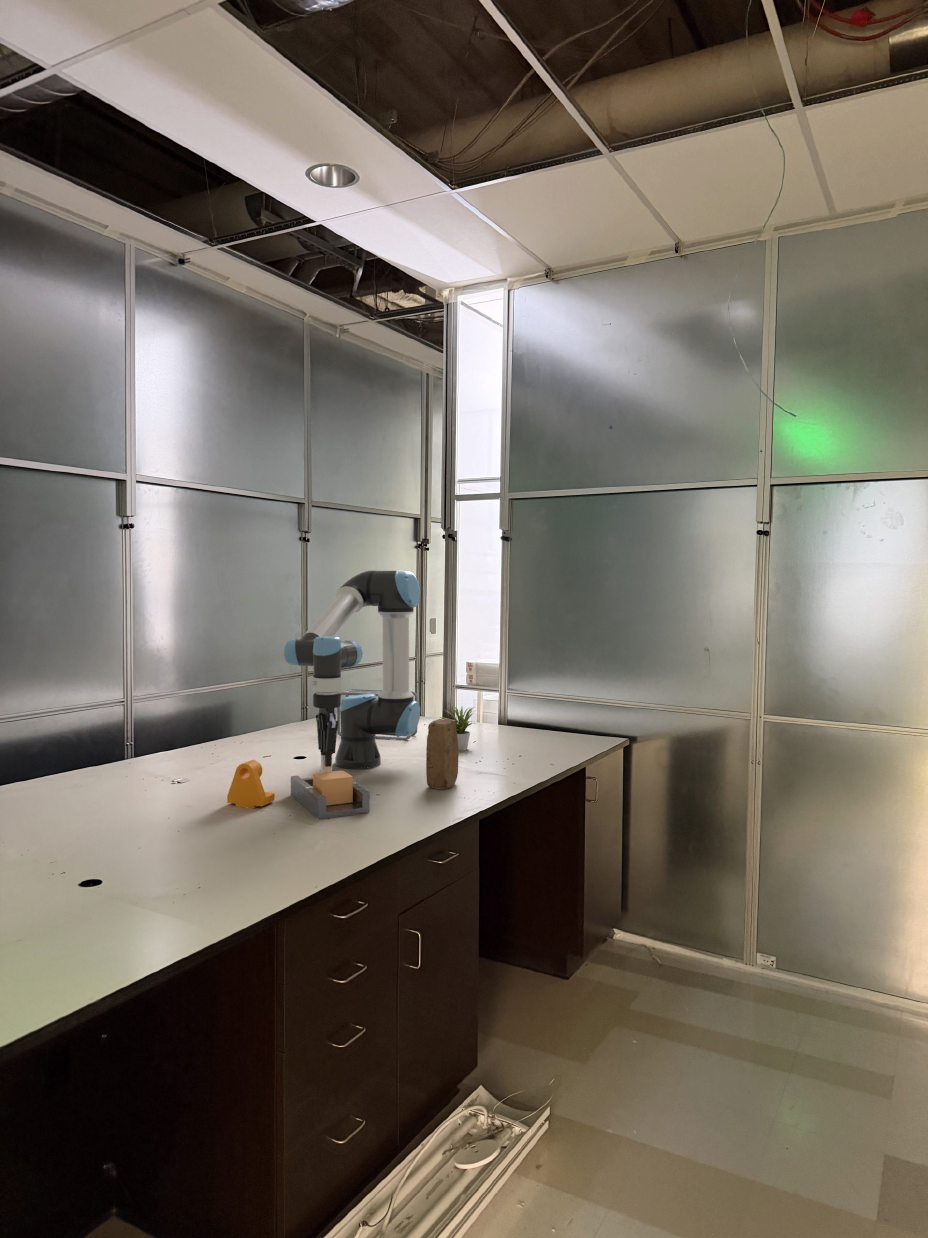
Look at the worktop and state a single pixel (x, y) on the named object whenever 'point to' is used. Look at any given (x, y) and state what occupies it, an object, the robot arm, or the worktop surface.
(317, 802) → the chute
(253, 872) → the worktop surface
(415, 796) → the worktop surface
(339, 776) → the slider block
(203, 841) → the worktop surface
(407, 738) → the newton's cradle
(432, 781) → the block
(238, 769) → the bracket
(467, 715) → the house plant
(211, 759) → the worktop surface
